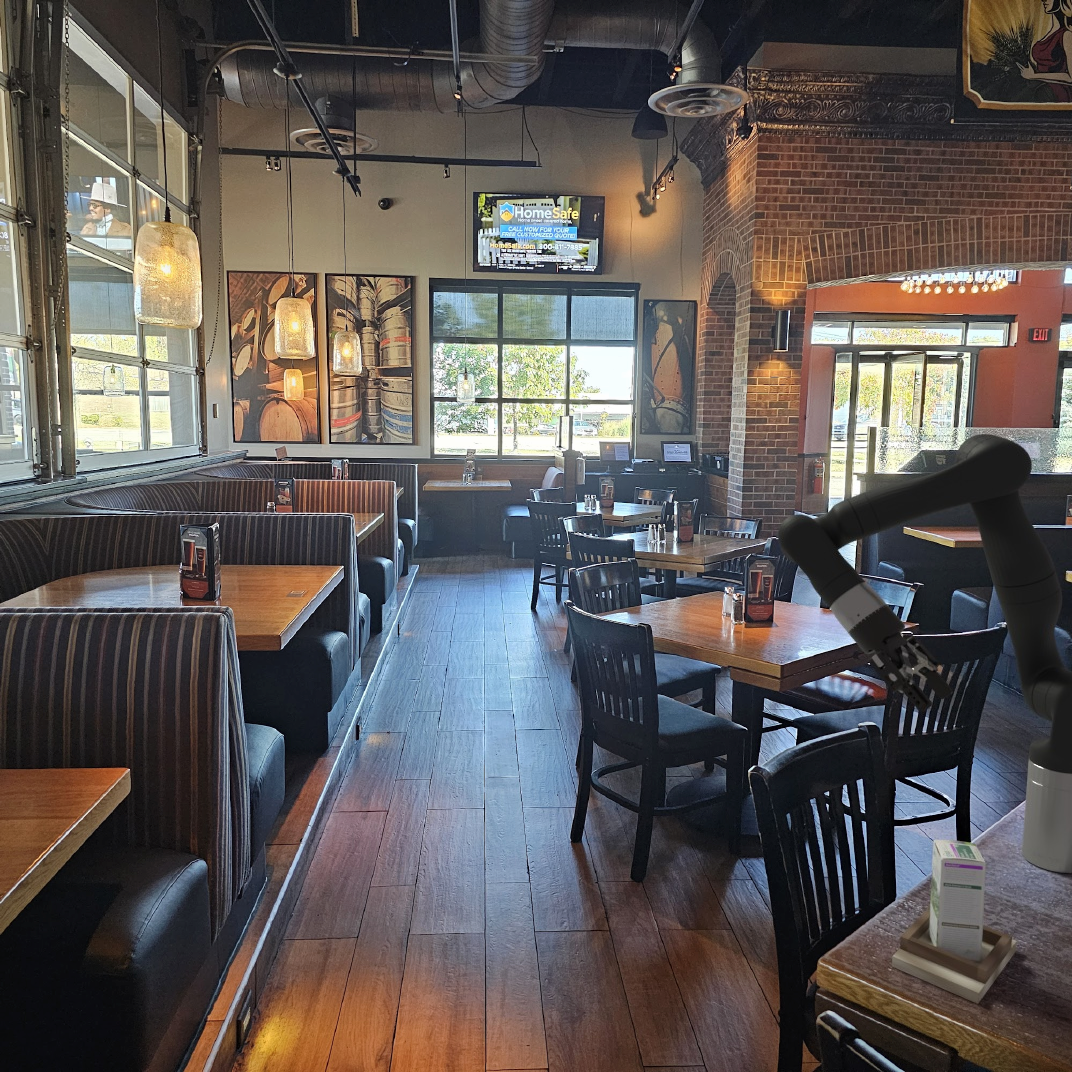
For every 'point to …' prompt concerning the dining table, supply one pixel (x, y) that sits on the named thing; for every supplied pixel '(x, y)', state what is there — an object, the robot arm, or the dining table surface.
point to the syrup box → (957, 898)
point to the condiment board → (953, 960)
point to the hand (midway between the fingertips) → (938, 702)
